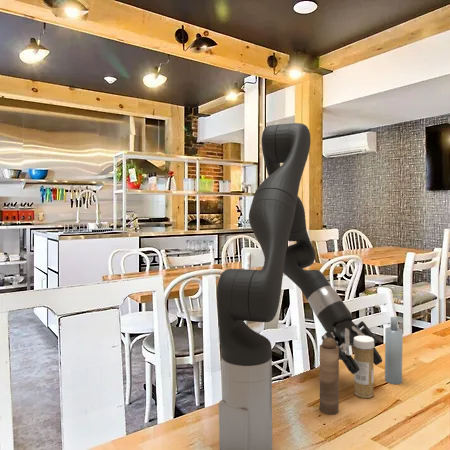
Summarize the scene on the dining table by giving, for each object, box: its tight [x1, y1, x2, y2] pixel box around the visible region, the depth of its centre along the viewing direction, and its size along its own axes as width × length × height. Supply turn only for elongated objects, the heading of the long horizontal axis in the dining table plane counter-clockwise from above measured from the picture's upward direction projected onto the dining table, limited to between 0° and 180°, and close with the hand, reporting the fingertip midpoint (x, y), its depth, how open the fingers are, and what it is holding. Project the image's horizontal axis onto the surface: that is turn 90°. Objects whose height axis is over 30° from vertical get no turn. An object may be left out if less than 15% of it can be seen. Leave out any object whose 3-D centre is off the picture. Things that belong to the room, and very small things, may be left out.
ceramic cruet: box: [384, 316, 404, 385], centre depth 106 cm, size 4×4×16 cm
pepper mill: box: [319, 337, 340, 416], centre depth 92 cm, size 4×4×16 cm
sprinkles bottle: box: [353, 336, 375, 399], centre depth 99 cm, size 5×5×14 cm
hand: (368, 367), depth 98 cm, fingers open, 8 cm apart
